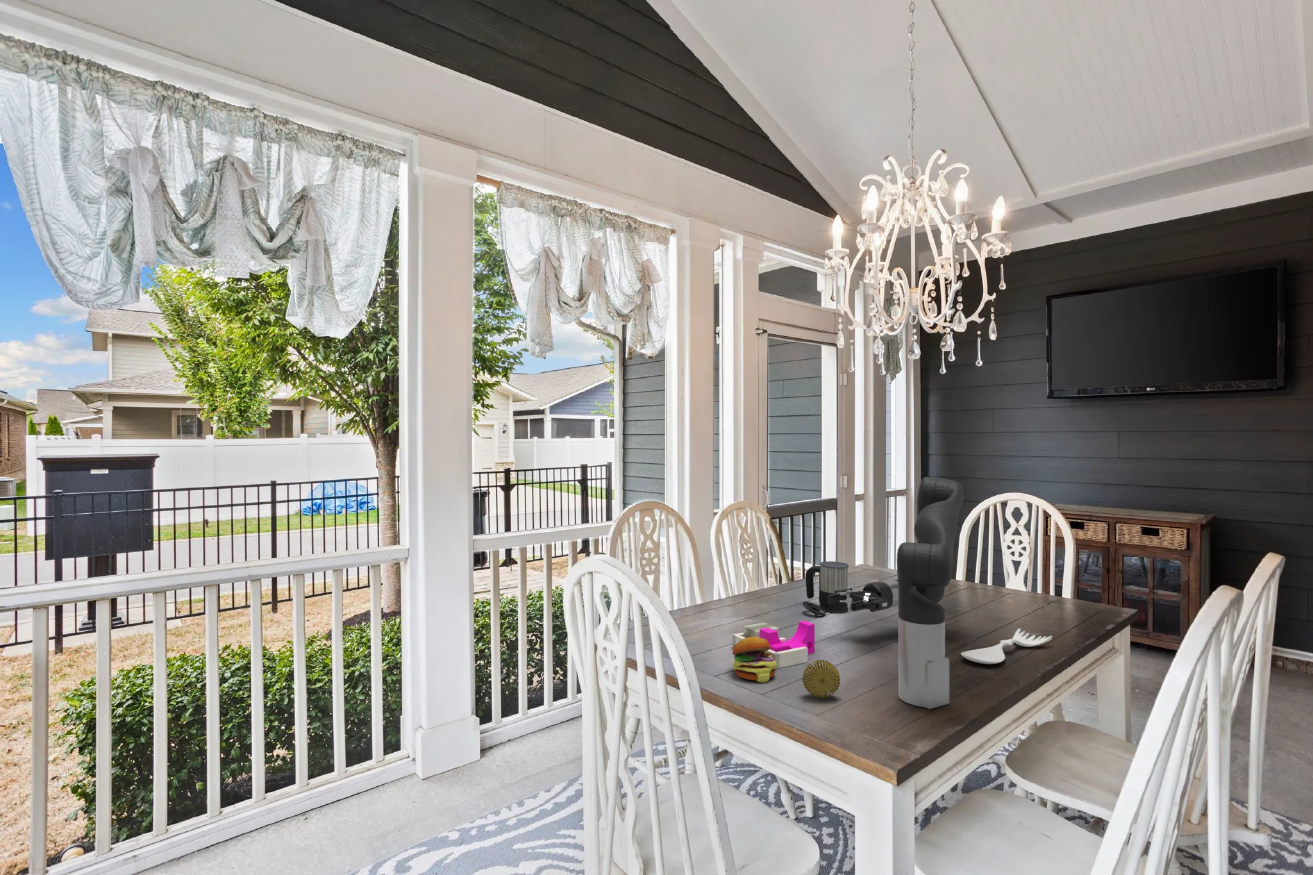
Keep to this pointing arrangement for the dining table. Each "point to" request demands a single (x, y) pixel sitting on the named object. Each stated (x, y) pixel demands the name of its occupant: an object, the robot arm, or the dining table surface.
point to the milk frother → (827, 586)
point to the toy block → (800, 638)
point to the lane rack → (782, 653)
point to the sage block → (757, 629)
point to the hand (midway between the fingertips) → (839, 603)
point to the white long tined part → (996, 652)
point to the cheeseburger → (754, 659)
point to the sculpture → (821, 678)
